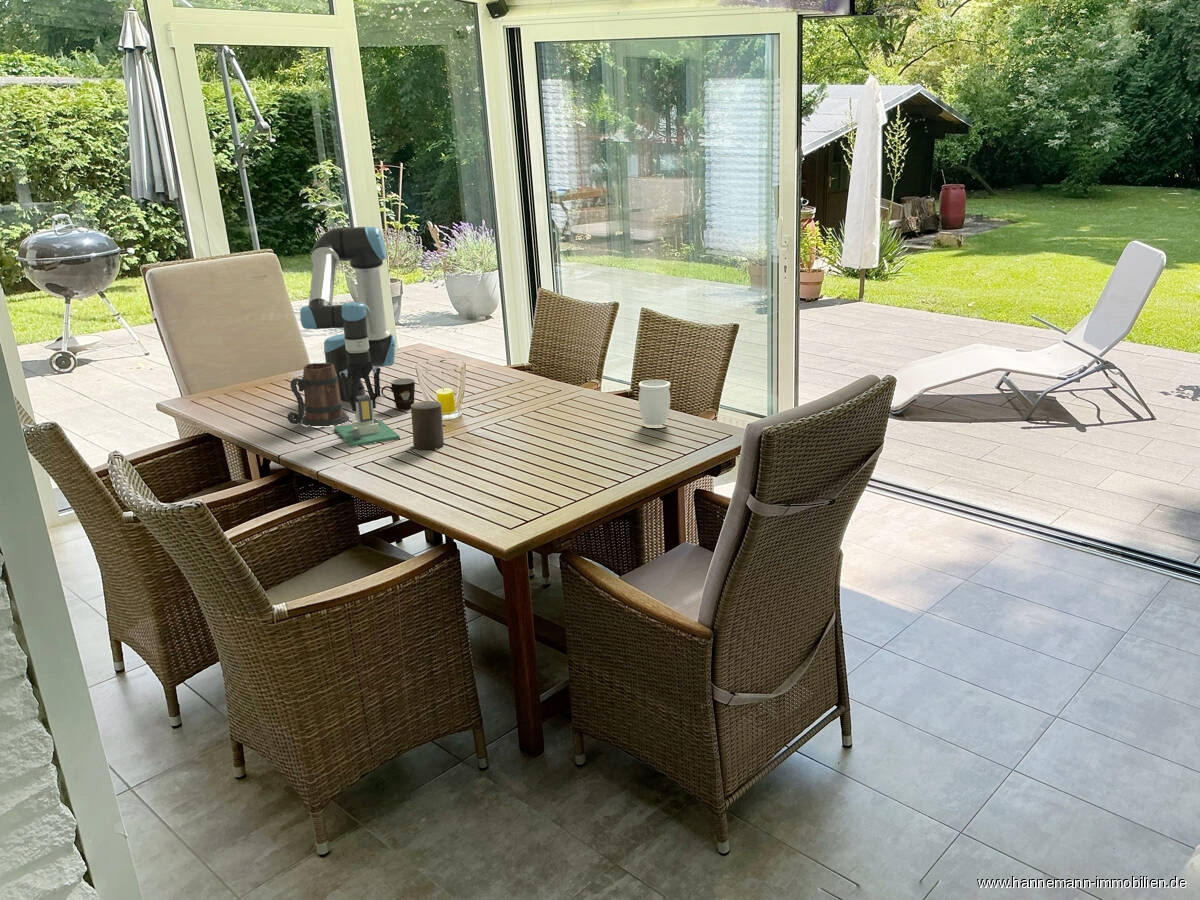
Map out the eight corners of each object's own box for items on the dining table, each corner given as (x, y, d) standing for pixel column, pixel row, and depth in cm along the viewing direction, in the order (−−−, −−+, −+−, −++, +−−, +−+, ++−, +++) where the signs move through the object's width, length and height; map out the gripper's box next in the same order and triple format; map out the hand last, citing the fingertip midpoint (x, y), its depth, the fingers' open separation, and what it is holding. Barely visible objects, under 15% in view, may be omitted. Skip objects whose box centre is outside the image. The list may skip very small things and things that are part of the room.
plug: (357, 419, 324) (355, 396, 321) (369, 417, 326) (366, 394, 323) (360, 422, 320) (358, 399, 318) (372, 420, 322) (370, 397, 320)
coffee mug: (419, 404, 358) (417, 378, 355) (413, 411, 350) (411, 384, 347) (389, 404, 359) (386, 378, 356) (382, 410, 351) (379, 384, 348)
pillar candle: (430, 452, 306) (427, 406, 301) (407, 447, 311) (403, 402, 306) (450, 443, 313) (447, 399, 309) (427, 439, 318) (424, 395, 314)
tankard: (327, 411, 352) (320, 357, 346) (360, 418, 343) (354, 363, 337) (274, 428, 334) (267, 372, 327) (308, 435, 325) (300, 378, 318)
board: (334, 429, 330) (333, 418, 329) (380, 422, 338) (379, 411, 336) (351, 447, 312) (350, 435, 311) (399, 438, 319) (398, 427, 318)
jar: (674, 423, 328) (675, 380, 324) (663, 432, 320) (663, 388, 315) (645, 420, 333) (645, 377, 328) (634, 428, 324) (633, 385, 319)
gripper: (334, 356, 309) (342, 426, 316) (386, 349, 316) (393, 418, 324) (328, 351, 315) (336, 420, 322) (380, 345, 323) (386, 412, 330)
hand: (364, 419), depth 323 cm, fingers closed on plug, 4 cm apart
